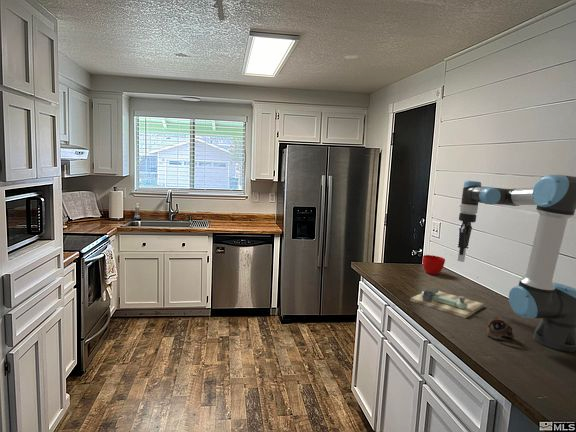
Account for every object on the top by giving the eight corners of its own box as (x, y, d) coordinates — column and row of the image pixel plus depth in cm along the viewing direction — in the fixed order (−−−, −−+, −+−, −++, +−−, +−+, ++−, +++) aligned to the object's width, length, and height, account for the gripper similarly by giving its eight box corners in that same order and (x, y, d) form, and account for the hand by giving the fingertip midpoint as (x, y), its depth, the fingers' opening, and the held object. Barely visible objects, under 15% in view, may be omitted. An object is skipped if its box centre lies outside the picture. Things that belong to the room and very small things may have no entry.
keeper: (437, 298, 198) (438, 289, 198) (428, 302, 191) (430, 293, 190) (431, 296, 200) (432, 287, 200) (422, 300, 193) (424, 291, 192)
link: (468, 307, 187) (469, 303, 187) (464, 309, 184) (465, 305, 184) (423, 294, 202) (424, 290, 201) (419, 296, 198) (419, 292, 198)
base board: (483, 306, 197) (485, 293, 196) (465, 318, 178) (467, 303, 177) (431, 291, 214) (433, 279, 213) (410, 300, 195) (411, 287, 195)
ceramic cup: (445, 272, 260) (448, 257, 259) (440, 277, 246) (442, 261, 244) (425, 268, 267) (427, 253, 265) (418, 272, 252) (420, 257, 251)
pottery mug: (519, 345, 156) (515, 328, 153) (494, 351, 158) (490, 335, 155) (505, 325, 167) (501, 309, 164) (482, 331, 169) (478, 316, 166)
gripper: (464, 211, 203) (457, 257, 206) (455, 212, 192) (448, 261, 196) (480, 213, 198) (472, 261, 201) (472, 215, 188) (464, 264, 191)
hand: (460, 261), depth 198 cm, fingers closed
